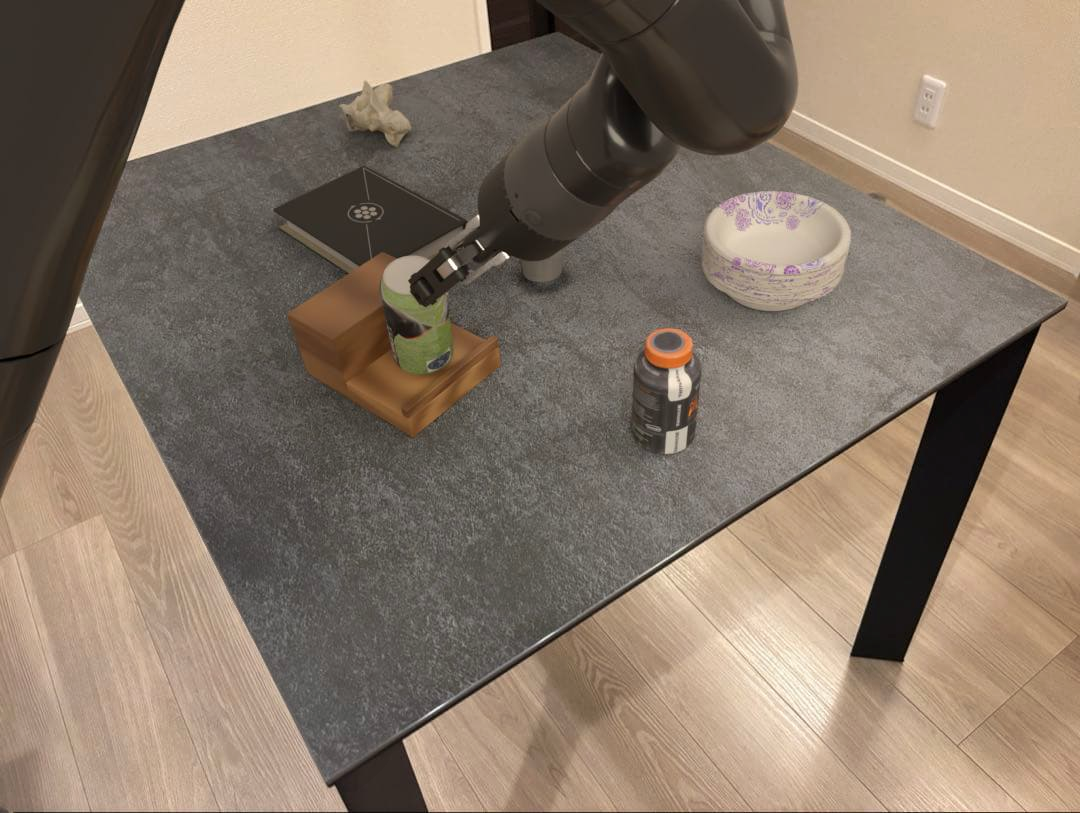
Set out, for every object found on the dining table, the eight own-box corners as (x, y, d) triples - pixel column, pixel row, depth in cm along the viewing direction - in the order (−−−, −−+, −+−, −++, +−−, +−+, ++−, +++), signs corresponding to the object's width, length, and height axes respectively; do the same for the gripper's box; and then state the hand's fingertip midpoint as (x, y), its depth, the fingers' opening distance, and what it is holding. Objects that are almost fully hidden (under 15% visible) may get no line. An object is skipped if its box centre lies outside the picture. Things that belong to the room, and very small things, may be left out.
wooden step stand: (413, 438, 80) (398, 376, 74) (307, 373, 87) (286, 313, 82) (501, 364, 86) (493, 303, 81) (395, 310, 94) (382, 251, 89)
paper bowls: (734, 342, 87) (742, 280, 81) (678, 263, 97) (682, 204, 92) (864, 311, 89) (881, 249, 83) (796, 238, 100) (807, 178, 94)
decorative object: (393, 124, 131) (390, 71, 126) (434, 153, 121) (432, 96, 117) (340, 132, 126) (334, 78, 122) (378, 162, 117) (374, 104, 113)
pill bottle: (698, 455, 76) (708, 363, 68) (633, 457, 76) (636, 366, 68) (691, 410, 80) (699, 318, 72) (629, 412, 80) (631, 320, 72)
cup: (502, 268, 99) (492, 177, 90) (547, 247, 101) (541, 157, 93) (537, 295, 95) (529, 203, 86) (583, 273, 97) (580, 181, 89)
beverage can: (438, 333, 87) (419, 235, 78) (471, 371, 82) (456, 271, 74) (383, 356, 85) (358, 258, 76) (415, 397, 80) (392, 297, 72)
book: (472, 239, 104) (469, 219, 101) (377, 294, 97) (372, 273, 94) (369, 184, 115) (365, 164, 113) (278, 229, 108) (272, 208, 106)
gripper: (584, 101, 60) (483, 197, 73) (449, 186, 52) (364, 275, 66) (643, 187, 61) (533, 266, 74) (520, 282, 53) (422, 351, 67)
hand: (454, 270), depth 70 cm, fingers open, 8 cm apart
